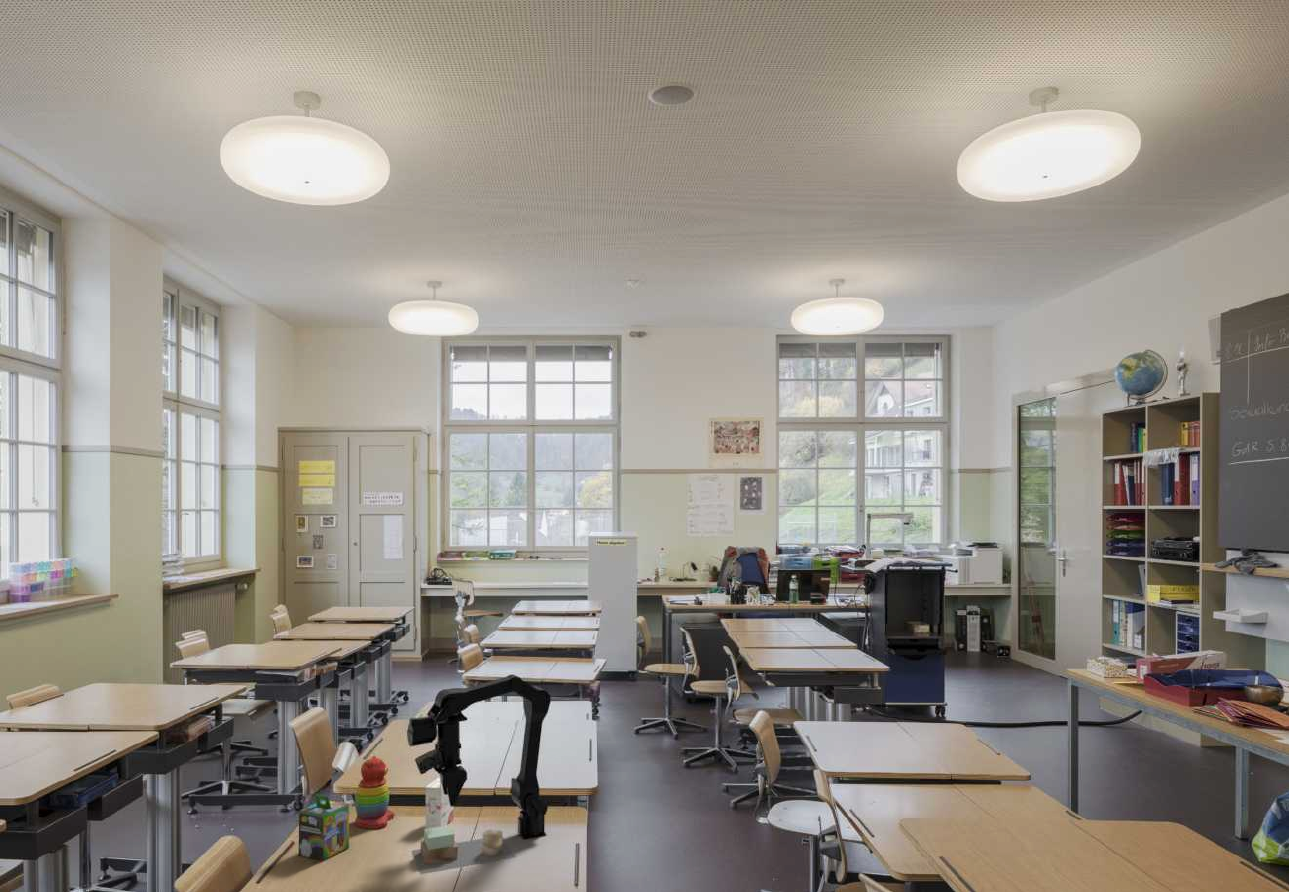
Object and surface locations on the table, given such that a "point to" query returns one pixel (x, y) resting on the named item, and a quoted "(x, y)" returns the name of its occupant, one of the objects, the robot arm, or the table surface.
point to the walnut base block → (438, 853)
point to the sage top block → (438, 837)
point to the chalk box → (323, 829)
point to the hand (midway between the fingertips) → (449, 800)
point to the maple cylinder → (492, 842)
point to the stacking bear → (373, 796)
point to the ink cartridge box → (437, 806)
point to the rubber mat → (463, 857)
